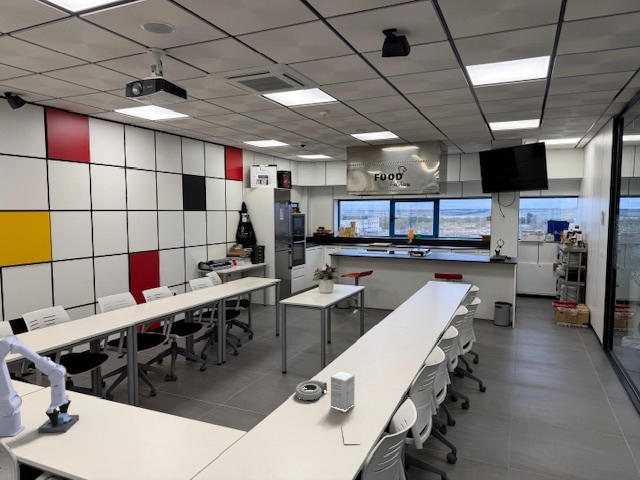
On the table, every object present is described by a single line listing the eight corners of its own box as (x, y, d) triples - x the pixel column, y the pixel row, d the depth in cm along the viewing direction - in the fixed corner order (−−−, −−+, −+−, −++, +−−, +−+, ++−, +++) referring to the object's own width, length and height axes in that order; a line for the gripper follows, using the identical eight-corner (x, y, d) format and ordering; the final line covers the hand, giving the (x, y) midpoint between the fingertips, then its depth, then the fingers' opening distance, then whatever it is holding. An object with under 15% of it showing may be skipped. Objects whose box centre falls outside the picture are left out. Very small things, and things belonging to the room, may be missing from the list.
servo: (47, 428, 194) (46, 417, 193) (52, 423, 198) (51, 413, 197) (67, 427, 194) (66, 417, 194) (71, 423, 198) (71, 413, 198)
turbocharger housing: (290, 399, 228) (312, 406, 220) (289, 388, 227) (312, 394, 219) (307, 386, 242) (329, 392, 234) (307, 376, 242) (328, 381, 233)
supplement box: (340, 401, 223) (340, 370, 222) (354, 406, 218) (355, 374, 217) (330, 408, 215) (330, 376, 214) (345, 413, 210) (345, 380, 209)
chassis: (38, 433, 190) (38, 428, 190) (53, 420, 202) (53, 415, 201) (65, 432, 190) (65, 427, 190) (79, 419, 202) (78, 414, 202)
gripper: (58, 399, 188) (59, 428, 189) (74, 386, 203) (75, 413, 203) (42, 399, 188) (43, 428, 188) (59, 386, 202) (60, 413, 203)
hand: (59, 420), depth 196 cm, fingers open, 7 cm apart
